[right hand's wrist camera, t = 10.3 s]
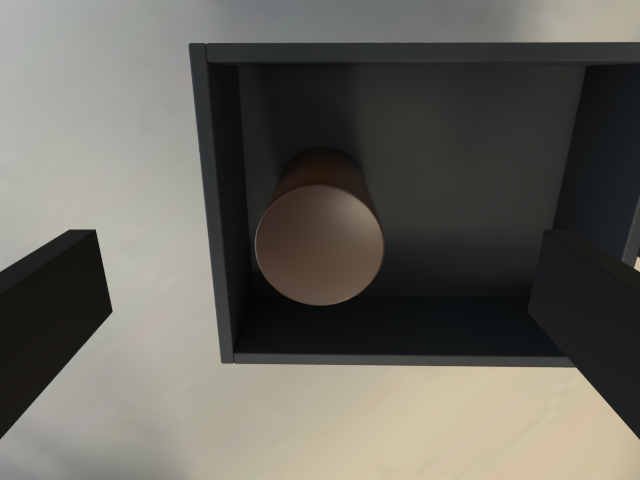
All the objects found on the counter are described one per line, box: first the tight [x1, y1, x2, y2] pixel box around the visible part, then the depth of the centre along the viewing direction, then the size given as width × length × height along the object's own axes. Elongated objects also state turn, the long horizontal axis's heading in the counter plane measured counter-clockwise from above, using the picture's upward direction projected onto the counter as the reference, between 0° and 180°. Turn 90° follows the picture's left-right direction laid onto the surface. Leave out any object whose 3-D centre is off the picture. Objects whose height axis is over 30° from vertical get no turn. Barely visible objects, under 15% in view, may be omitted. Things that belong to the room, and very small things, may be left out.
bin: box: [189, 42, 640, 368], centre depth 19 cm, size 30×13×7 cm, turn 90°
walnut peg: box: [255, 147, 385, 305], centre depth 18 cm, size 4×4×8 cm
